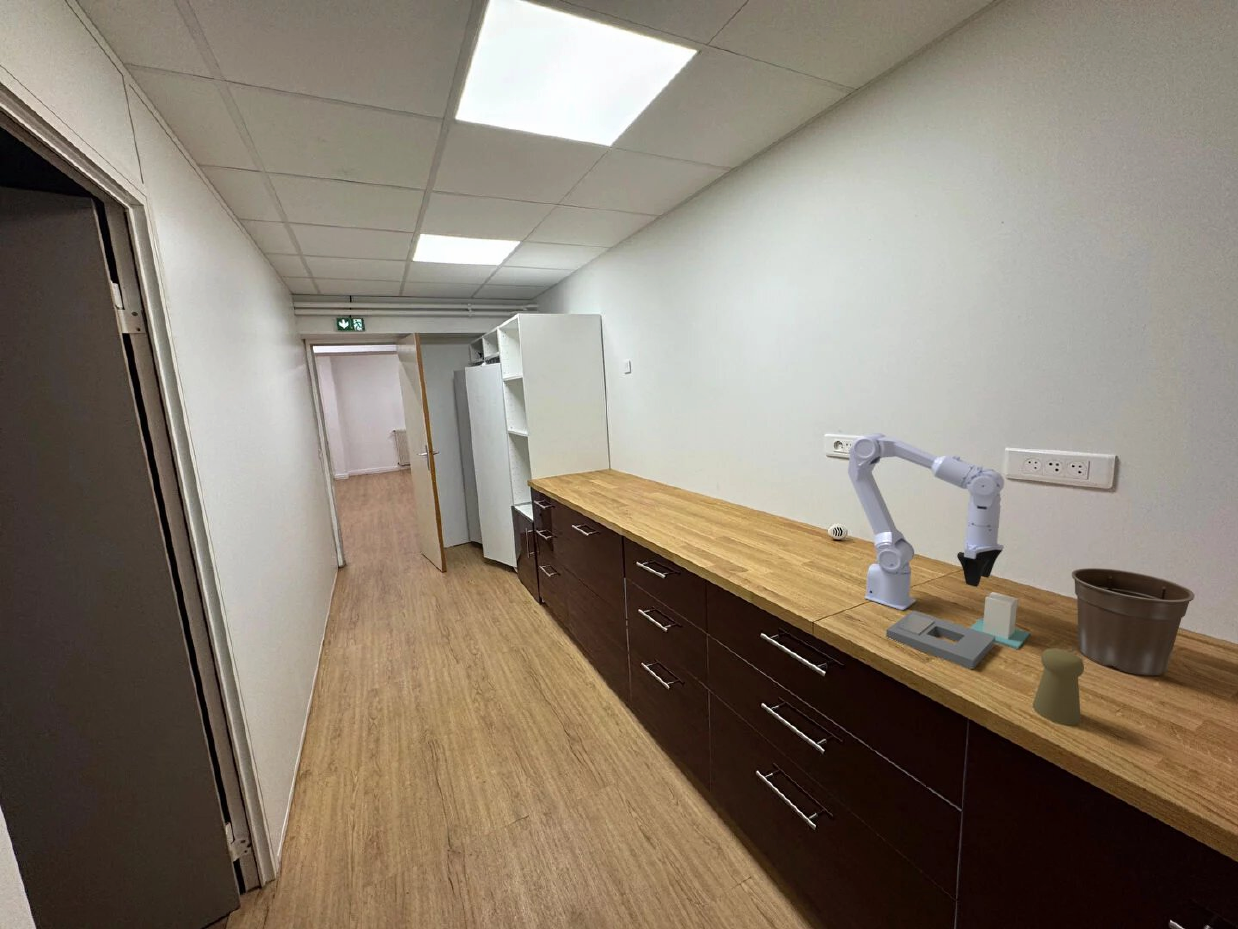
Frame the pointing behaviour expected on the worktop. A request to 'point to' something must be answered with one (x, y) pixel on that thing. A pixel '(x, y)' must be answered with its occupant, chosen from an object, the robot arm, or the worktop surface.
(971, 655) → the grey slotted board
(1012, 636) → the mat
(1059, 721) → the cork
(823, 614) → the worktop surface
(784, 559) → the worktop surface
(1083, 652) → the plant pot
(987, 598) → the plug
